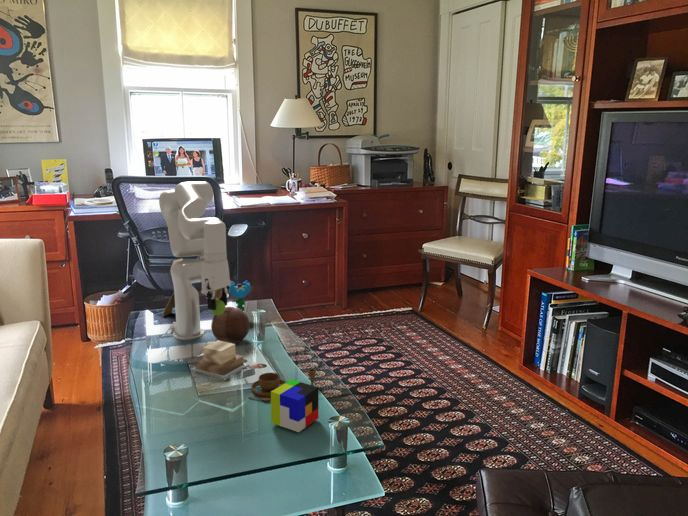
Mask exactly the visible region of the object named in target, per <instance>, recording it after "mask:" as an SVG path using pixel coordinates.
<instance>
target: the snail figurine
mask: <svg viewBox="0 0 688 516" xmlns="http://www.w3.org/2000/svg"><path fill="white" fill-rule="evenodd" d="M222 289H223V288H221V289H219V290H216V291H215V297H214V299H216V310H210V309H209V311H210V313H212V315H213V316H215V315H221V314H222V313H223V312H224V311H225V307H226V306H225V304H224V302H223V301H221V300H219V299H220V298H221V296H222Z"/></svg>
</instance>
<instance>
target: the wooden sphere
mask: <svg viewBox="0 0 688 516" xmlns="http://www.w3.org/2000/svg"><path fill="white" fill-rule="evenodd" d="M210 325H211V327H210V329H211V332H212V334H213V337H214V338H215V339H216V341H217V340H219V341H224V342H228V343H233V344H235V345H236V344H238V343H240V342H242V341H243V340H244V339H245V338H246V337H247V335H248V333H249V330H250V319H249V316H248V315H247V313H245V311H242V310H241V309H239V308H236V306H225V311H224V312H223V313H222V314H221V315H213V317H212V320H211V324H210Z"/></svg>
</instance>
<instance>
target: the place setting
mask: <svg viewBox="0 0 688 516" xmlns="http://www.w3.org/2000/svg"><path fill="white" fill-rule="evenodd" d="M316 371H317V370H316V369H314V368H309V369H308V377H309V379H310V385H312V386H314V382H315V381H314V378H316V375H317V373H316ZM280 377H281V376H280V375H279V374H278V373H275V372H265V373H261V374H260V375H259V376H258V380H256V381H253V383H252V384H251V385H250V386H251V391H252V393H254V394H255V395H257V396H259V397H255V396H254V397H252V396H249V397H248V399H253V400H254V399H256V400H257V399H258V400H261V401H263V402H264V401H265V402H266V401H267V402H268V401H269V402H270V401H271V391H273V390H274V389H276V388H278V387H280V385H283V384H285V383H286V382H287V381H286V380H283V379H282V378H280ZM294 380H295V381H297V380H296V379H294ZM257 386H259V387H260V388H261V389H259V390H258V391H257V390H255V388H256V387H257Z"/></svg>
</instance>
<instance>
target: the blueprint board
mask: <svg viewBox="0 0 688 516" xmlns="http://www.w3.org/2000/svg"><path fill="white" fill-rule="evenodd" d="M249 365H250V363H247V362H244V364H243V365H241V366H239V367H237V368H236V369H234V370H232V371H230V372H229V373H227V374H225V375H223V376H221V375H218V374H214V373H210V372H206V371H202V370H198V369H196V365H195V366H193V367H191V368H189V371H193V372H197V373H200V374H204V375H208V376H212V377H215V378H218V379H221V380H224V379H226V378H228V379H230V378H231V377H230V376H231V375H233V376H235V375H236V374H238V373H239V372H241V371H242V369H243V368H244V369H245V367H246V368H247V367H250V366H251V365H250V366H249ZM244 369H243V370H244ZM240 370H241V371H240ZM237 372H238V373H237ZM235 373H236V374H235ZM234 374H235V375H234ZM229 377H230V378H229Z"/></svg>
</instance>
